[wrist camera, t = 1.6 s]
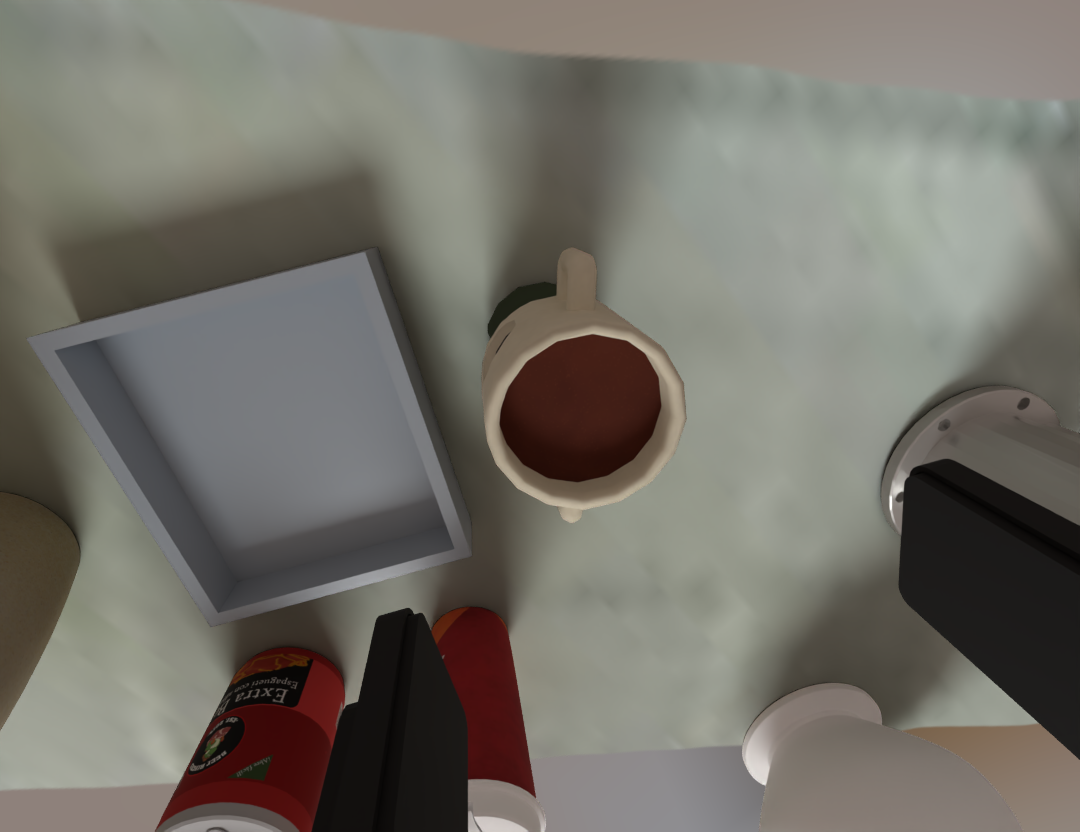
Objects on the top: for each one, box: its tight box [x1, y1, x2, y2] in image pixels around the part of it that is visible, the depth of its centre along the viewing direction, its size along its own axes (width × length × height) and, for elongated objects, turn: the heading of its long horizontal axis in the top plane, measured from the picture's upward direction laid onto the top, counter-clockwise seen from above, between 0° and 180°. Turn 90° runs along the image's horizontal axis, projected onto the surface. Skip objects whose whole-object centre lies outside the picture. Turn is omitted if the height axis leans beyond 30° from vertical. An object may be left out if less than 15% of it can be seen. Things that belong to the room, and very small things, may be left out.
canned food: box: [155, 647, 345, 832], centre depth 32 cm, size 8×8×11 cm
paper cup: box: [431, 607, 546, 832], centre depth 31 cm, size 8×8×14 cm
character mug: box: [481, 247, 687, 523], centre depth 24 cm, size 11×7×13 cm, turn 179°
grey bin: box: [26, 247, 472, 627], centre depth 29 cm, size 16×18×4 cm
